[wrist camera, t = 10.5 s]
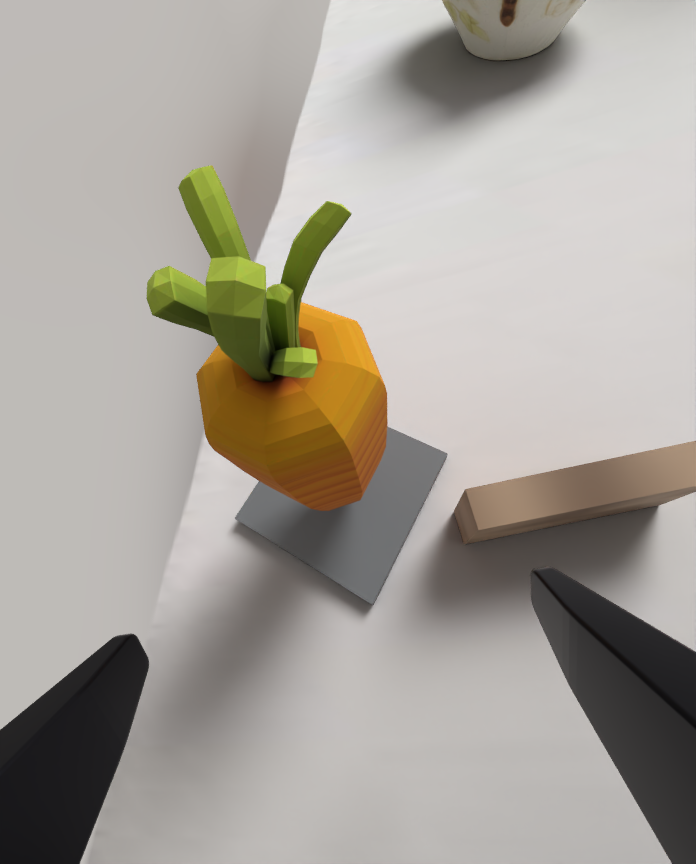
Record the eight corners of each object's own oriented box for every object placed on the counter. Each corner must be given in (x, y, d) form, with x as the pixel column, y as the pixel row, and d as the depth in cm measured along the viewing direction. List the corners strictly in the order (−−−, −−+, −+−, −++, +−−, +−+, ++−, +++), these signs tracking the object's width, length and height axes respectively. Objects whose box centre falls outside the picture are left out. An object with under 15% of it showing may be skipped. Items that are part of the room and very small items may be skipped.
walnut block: (641, 472, 18) (701, 439, 14) (659, 505, 17) (727, 479, 13) (453, 511, 18) (465, 489, 15) (463, 544, 18) (478, 530, 14)
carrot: (303, 440, 20) (101, 119, 7) (395, 444, 19) (385, 90, 6) (288, 534, 18) (-39, 357, 5) (390, 543, 17) (357, 361, 4)
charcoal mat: (373, 604, 17) (372, 605, 16) (239, 520, 20) (234, 518, 19) (446, 457, 19) (447, 453, 19) (318, 399, 22) (315, 394, 21)
